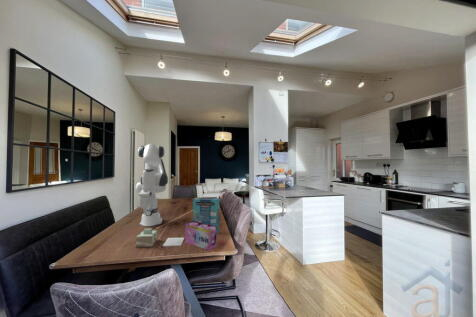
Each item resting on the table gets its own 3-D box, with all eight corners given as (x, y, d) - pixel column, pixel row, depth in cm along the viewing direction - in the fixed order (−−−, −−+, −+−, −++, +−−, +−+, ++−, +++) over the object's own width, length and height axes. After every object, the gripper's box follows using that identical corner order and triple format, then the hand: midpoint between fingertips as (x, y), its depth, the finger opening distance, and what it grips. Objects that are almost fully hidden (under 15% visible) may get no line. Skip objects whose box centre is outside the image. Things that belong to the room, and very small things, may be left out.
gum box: (218, 247, 129) (219, 226, 129) (210, 251, 122) (211, 229, 123) (193, 239, 142) (193, 220, 143) (184, 242, 135) (185, 223, 136)
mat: (168, 238, 143) (168, 237, 143) (184, 238, 144) (184, 237, 144) (162, 246, 129) (162, 245, 129) (180, 245, 130) (180, 245, 130)
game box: (219, 231, 159) (219, 198, 159) (217, 234, 152) (218, 199, 153) (194, 230, 161) (195, 197, 161) (192, 233, 154) (192, 199, 155)
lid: (143, 232, 139) (143, 226, 139) (156, 231, 140) (156, 226, 140) (137, 237, 128) (137, 231, 128) (151, 237, 129) (152, 231, 129)
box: (142, 240, 139) (143, 230, 139) (157, 239, 140) (157, 230, 140) (135, 247, 127) (136, 236, 128) (151, 246, 128) (151, 236, 128)
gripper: (149, 190, 145) (148, 209, 144) (137, 194, 125) (137, 216, 124) (158, 190, 146) (157, 208, 145) (148, 194, 125) (147, 215, 125)
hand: (148, 212), depth 134 cm, fingers open, 8 cm apart
